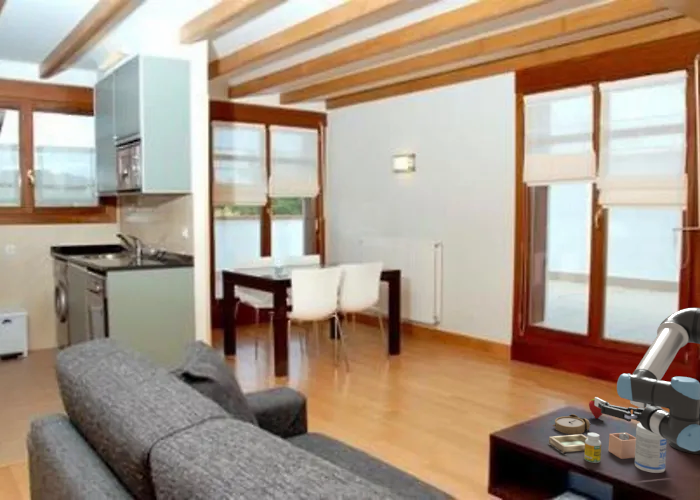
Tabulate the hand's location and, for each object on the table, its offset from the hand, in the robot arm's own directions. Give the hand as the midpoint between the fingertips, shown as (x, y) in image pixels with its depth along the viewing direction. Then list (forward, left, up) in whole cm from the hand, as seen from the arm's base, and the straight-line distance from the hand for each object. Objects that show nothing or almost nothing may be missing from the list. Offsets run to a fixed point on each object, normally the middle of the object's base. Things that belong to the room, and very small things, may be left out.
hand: (613, 400), depth 214 cm
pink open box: (-14, -12, -25) cm, 31 cm away
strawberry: (-29, -49, -25) cm, 62 cm away
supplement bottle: (0, -10, -25) cm, 27 cm away
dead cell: (-14, -12, -24) cm, 30 cm away
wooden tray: (-1, -23, -25) cm, 34 cm away
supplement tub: (-16, 0, -25) cm, 30 cm away
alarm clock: (-12, -40, -25) cm, 49 cm away
